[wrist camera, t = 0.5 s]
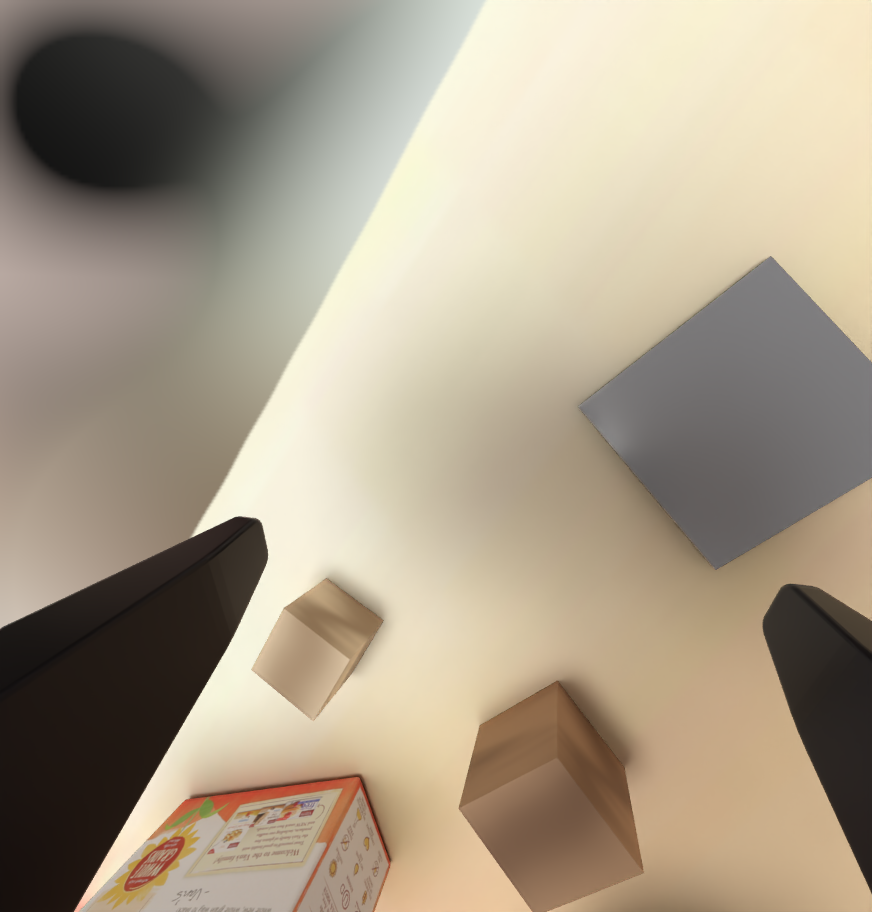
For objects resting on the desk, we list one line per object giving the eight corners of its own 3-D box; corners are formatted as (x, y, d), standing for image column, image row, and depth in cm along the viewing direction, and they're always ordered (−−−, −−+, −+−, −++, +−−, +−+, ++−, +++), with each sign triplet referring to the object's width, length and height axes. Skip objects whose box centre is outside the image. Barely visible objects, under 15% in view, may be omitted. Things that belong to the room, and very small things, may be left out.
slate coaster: (927, 435, 16) (941, 436, 16) (711, 565, 19) (715, 569, 18) (763, 261, 17) (770, 256, 16) (577, 406, 19) (578, 406, 19)
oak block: (384, 619, 23) (349, 659, 20) (352, 673, 24) (313, 721, 20) (327, 577, 24) (283, 608, 20) (298, 631, 25) (251, 669, 21)
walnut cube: (624, 766, 21) (644, 873, 16) (540, 806, 22) (535, 916, 17) (557, 679, 21) (557, 757, 16) (479, 724, 22) (458, 808, 18)
